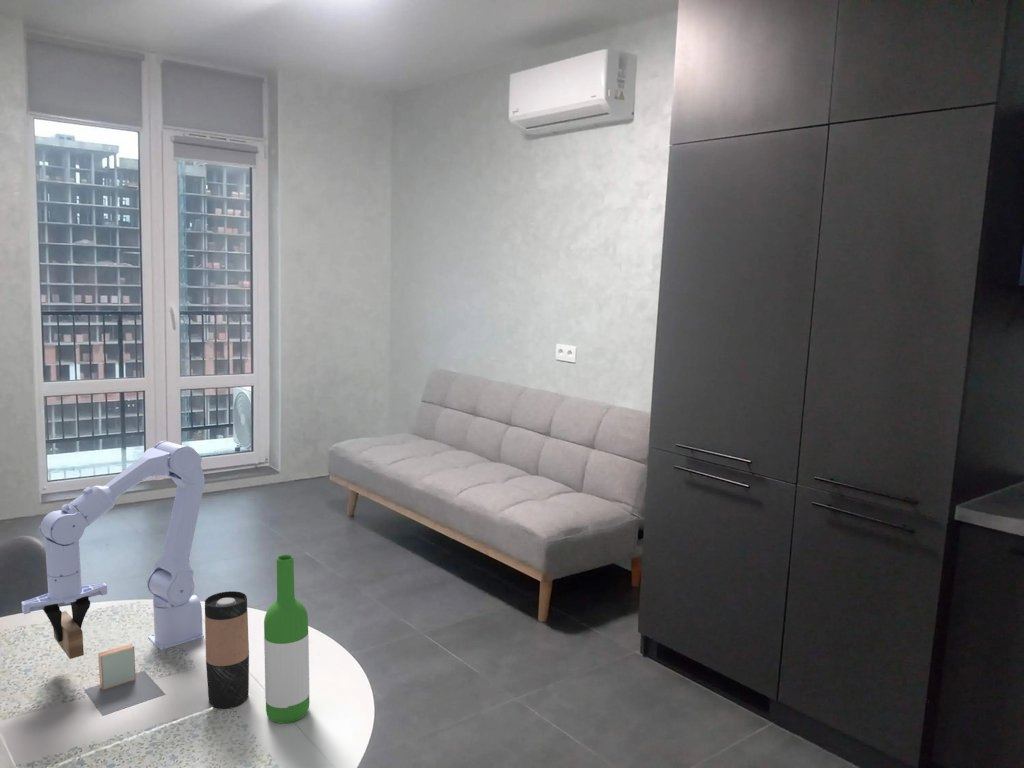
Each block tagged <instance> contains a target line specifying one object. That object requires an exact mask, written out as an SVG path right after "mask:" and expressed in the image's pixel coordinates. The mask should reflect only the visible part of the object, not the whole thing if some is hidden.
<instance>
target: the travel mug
mask: <svg viewBox="0 0 1024 768" xmlns="http://www.w3.org/2000/svg"><path fill="white" fill-rule="evenodd" d="M248 613H249V612H248V597H247V595H246V593H243V592H241V591H235V590H234V591H233V590H232V591H231V590H230V591H223V592H216V593H215V594H214V593H213V594H212V595H210V596H208V597H206V599H205V600H204V629H205V630H204V631H205V634H204V638H205V639H204V640H205V666H206V679H207V681H206V682H207V695H208V696H207V697H208V703H209V704H210V706H211V707H212V708H214V709H216V710H227V709H229V710H230V709H234V708H237V707H239V706H241V705H243V704H244V703H246V702H247V700H248V699H249V693H250V692H249V689H250V675H249V674H250V673H249V672H250V648H249V647H250V645H249V643H250V642H249V617H248V616H249V615H248Z"/></svg>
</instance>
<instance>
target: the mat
mask: <svg viewBox="0 0 1024 768" xmlns="http://www.w3.org/2000/svg"><path fill="white" fill-rule="evenodd" d="M135 675H136V680H135V681H132V682H128V683H125V684H122V685H119V686H116V687H113V688H110V689H107V690H103V691H102V689H101V688H100V684H97V685H95V686H92V687H88V688H85V689H83V690H84V692H85V694H86V695H87V696H88V697H89V699H90V700H91V702H92V703H93V704H94V707H96V708H97V710H98V712H99V714H101V716H102V717H103V716H107V715H109V714H112V713H114V712H119V711H121V710H124V709H127V708H130V707H132V706H136V705H139V704H141V703H144V702H147V701H151V700H153V699H157V698H159V697H162V696H165V695H166V693H165V692H164V691H163V689H161V687H159V685H158V684H157V683H156V682H155V681H154V679H152V678H151V676H150V675H149V674H148V673H147V672H146V671H145V670H142V671H138V672H135Z"/></svg>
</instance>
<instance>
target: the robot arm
mask: <svg viewBox="0 0 1024 768" xmlns="http://www.w3.org/2000/svg"><path fill="white" fill-rule="evenodd" d="M202 460H203V457H202V456H201V455H200V454H199V453H198V452H197V450H196V449H195V448H193V447H191V446H189V445H182V444H178V443H174V442H173V441H170V440H161V441H158V442H157V443H155V444H154V446H153V447H150V448H148V449H146V450H145V451H144V453H143V454H142V455H141V456H140V457H139V458H138V459H136V460H135V461H134V462H132V463H131V464H129V466H128V467H127V468H125V469H124V470H122V471H121V472H120V473H119V474H117V475H116V476H115V477H113V478H112V479H111V480H110V481H108V482H107V483H106V484H105V485H94V486H92V487H90V486H87V487H85V489H83V490H82V492H83V493H82V494H81V495H79V496H78V497H76V498H75V499H73V500H72V501H71V502H69V503H65V504H63V505H62V506H61V507H60V508H61V510H60V509H57V510H54V511H50V512H48V513H47V514H46V515H45V516H44V518H43V519H42V521H41V523H40V526H38V531H39V534H40V535H41V536H42V537H43V538H44V539H45V540H44V541H45V542H44V543H45V565H46V579H47V593H45V594H41V595H39V596H35V597H33V598H30V599H26V600H24V601H23V600H22V601H21V612H22V613H23V614H24V615H27V614H30V613H32V612H34V611H38V610H43V612H44V613H45V615H46V617H47V618H48V620H49V623H50V624H51V626H52V629H53V633H54V632H55V636H56V639H57V641H58V642H61V641H62V640H63V635H62V628H61V616H62V612H63V611H62V610H61V609H60V606H59V605H64V604H65V605H67V604H70V607H71V608H70V609H71V613H72V614H71V615H72V616H71V617H72V619H73V620H74V621H75V622H76V624H77V625H78V626H79V627H80V628H81V629H82V626H83V622H84V619H85V617H86V614H87V613H88V610H89V609H90V607H91V600H90V599H89V598H91V597H97V596H106V595H108V585H107V584H106V583H105V582H101V583H95V584H88V585H83V584H82V570H81V569H82V568H81V552H80V551H81V550H80V539H81V538H82V536H83V535H84V532H85V530H86V528H87V527H89V526H90V525H92V523H94V522H95V521H97V520H99V519H100V518H101V517H102V516H104V515H105V514H106V513H108V512H109V511H110V510H112V509H113V508H114V507H115V505H116V504H115V503H116V500H117V498H118V497H120V496H122V495H123V494H125V493H126V492H128V491H130V490H131V489H133V488H134V487H135V486H137V485H138V484H141V482H143V481H145V480H147V478H149V477H152V476H153V477H155V476H157V477H158V476H169V478H170V479H171V480H172V482H174V483H175V485H176V490H175V496H174V498H173V499H174V500H173V505H172V509H171V514H170V518H169V524H168V529H167V533H166V537H165V544H164V547H163V552H162V556H161V557H160V558H158V559H156V561H155V563H154V566H153V570H152V571H151V573H150V574H149V575H148V578H147V580H146V588H147V591H148V592H149V593H150V594H152V599H153V600H152V605H153V627H154V632H153V633H154V634H151V635H149V636H148V639H149V640H150V642H152V643H153V645H155V647H156V648H157V649H159V650H165V649H168V648H172V647H175V646H179V645H182V644H186V643H189V642H192V641H196V640H198V639H203V638H205V634H203V633H204V632H203V607H202V603H201V600H200V598H199V597H198V595H196V594H194V593H195V582H194V573H195V571H194V568H193V566H192V564H191V562H190V561H191V560H190V556H191V550H192V546H193V540H194V535H195V531H196V527H197V523H198V521H197V520H198V517H199V512H200V508H201V503H202V499H203V498H202V497H203V493H204V487H205V485H206V484H205V481H206V479H205V475H204V471H203V467H202V464H201V463H202ZM57 641H56V642H57ZM58 642H57V643H58Z"/></svg>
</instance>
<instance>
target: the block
mask: <svg viewBox="0 0 1024 768" xmlns="http://www.w3.org/2000/svg"><path fill="white" fill-rule="evenodd" d="M135 654H136V653H135V645H134V644H132V643H129V644H126V645H121V646H119V647H116V648H112V649H107V650H105V651H103V652H98V653H97V655H98V657H97V658H98V670H99V671H98V673H99V675H98V676H99V685H100V688H101V689H102V691H103V690H107V689H110V688H113V687H116V686H119V685H122V684H125V683H128V682H132V681H135V680H136V675H135V673H136V657H135Z"/></svg>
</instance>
